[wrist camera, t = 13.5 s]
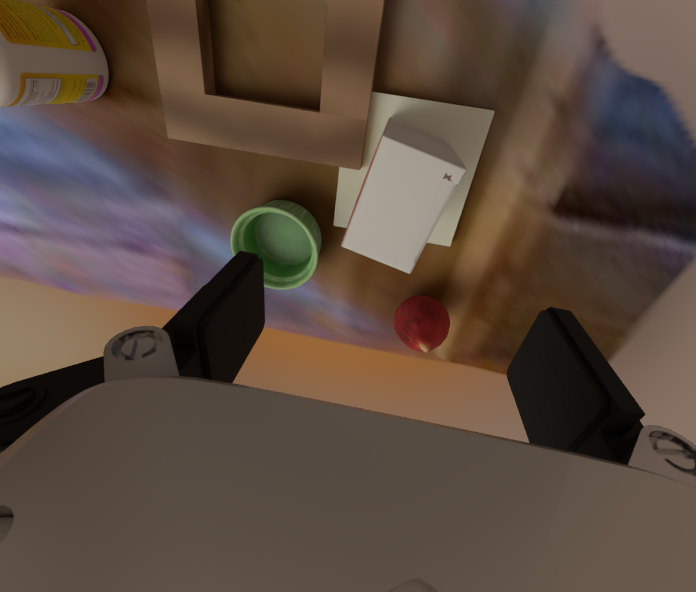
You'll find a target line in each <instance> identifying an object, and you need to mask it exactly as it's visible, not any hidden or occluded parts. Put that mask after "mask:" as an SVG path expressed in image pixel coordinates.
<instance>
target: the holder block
mask: <svg viewBox="0 0 696 592" xmlns="http://www.w3.org/2000/svg"><path fill="white" fill-rule="evenodd" d="M146 6H147V12H148V18H149V24H150V30H151V36H152V42H153V48H154V55H155V61H156V67H157V73H158V79H159V85H160V91H161V97H162V103H163V109H164V116H165V122H166V128H167V134H168V138H171V139H177V140H183V141H189V142H195V143H201V144H206V145H212V146H218V147H224V148H230V149H236V150H242V151H248V152H254V153H260V154H266V155H272V156H277V157H283V158H289V159H295V160H301V161H307V162H313V163H319V164H325V165H331V166H337V167H343V168H349V169H354V170H360V169H361V166H362V159H363V152H364V145H365V138H366V131H367V124H368V117H369V110H370V103H371V96H372V92H373V89H374V82H375V75H376V68H377V61H378V54H379V47H380V40H381V34H382V27H383V20H384V13H385V6H386V0H327V15H326V29H325V44H324V58H323V73H322V87H321V102H320V110H315V109H309V108H302V107H296V106H290V105H284V104H277V103H271V102H265V101H259V100H253V99H246V98H240V97H234V96H228V95H221V94H216V88H215V76H214V64H213V52H212V40H211V28H210V16H209V4H208V0H146Z"/></svg>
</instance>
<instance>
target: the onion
mask: <svg viewBox="0 0 696 592" xmlns="http://www.w3.org/2000/svg"><path fill="white" fill-rule="evenodd" d="M449 327H450V320H449V315H448V312H447V310H446V309H445V307H444V306H443V305H442V304H441V302H440V301H438V300H436V299H434V298H432V297H430V296H425V295H418V296H412V297H411V298H409V299H407V300H405V301H404V302H402V304H401V305H400V306H399V307H398V308H397V310H396V313H395V318H394V329H395V331H396V333H397V335H398V337H399V339H400V340H401V341H402V342H403V343H404V344H405V345H406V346H407V347H409V348H410V349H413V350H415V351H424V352H426V353H428V352H429V351H430V350H433V349H435V348H436V347H438V346H440V345H441V343H442V342H443V341H444V340H445V338H446V337H447V335H448V331H449Z"/></svg>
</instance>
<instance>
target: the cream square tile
mask: <svg viewBox="0 0 696 592" xmlns="http://www.w3.org/2000/svg"><path fill="white" fill-rule="evenodd" d="M494 112H495V111H494V110H489V109H482V108H476V107H469V106H463V105H456V104H450V103H444V102H437V101H431V100H424V99H418V98H411V97H405V96H399V95H392V94H386V93H379V92H372V96H371V103H370V110H369V117H368V124H367V131H366V138H365V145H364V152H363V159H362V166H361V169H360V170H354V169H349V168H343V167H340V168H339V177H338V186H337V196H336V205H335V214H334V224H333V226H338V227H343V228H347V226H348V223H349V220H350V217H351V214H352V211H353V209H354V206H355V203H356V200H357V197H358V195H359V192H360V189H361V186H362V184H363V181H364V179H365V176H366V174H367V171H368V169H369V166H370V163H371V161H372V158H373V156H374V153H375V151H376V148H377V146H378V143H379V141H380V138H381V136H382V134H383V131H384V129H385V126H386V124H387V122H388V119H389V117H393V118H395V119H397V120H400V121H402V122H404V123H407V124H409V125H411V126H414V127H416V128H418V129H421V130H423V131H425V132H428V133H430V134H432V135H435V136H437V137H439V138H441V139H444V140H446V141H448V142H449V143H450V144H451V146H452V147H453V149H454V151H455V152H456V153H457V155H458V156H459V158H460V159H461V160H462V162H463V163H464V165H465V167H466V168H467V172H466V174H465V176H464V177H463V179H462V181H461V182H460V184H459V185H458V187H457V189H456V190H455V192H454V194H453V196H452V197H451V199H450V201H449V202H448V204H447V206H446V208H445V210H444V212H443V213H442V215H441V217H440V219H439V221H438V222H437V224H436V226H435V228H434V230H433V232H432V234H431V235H430V237H429V239H428V241H427V243H433V244H439V245H444V246H451V242H452V239H453V236H454V233H455V230H456V227H457V224H458V221H459V218H460V215H461V212H462V209H463V206H464V203H465V200H466V197H467V194H468V191H469V188H470V185H471V182H472V179H473V176H474V173H475V170H476V167H477V164H478V161H479V158H480V155H481V152H482V149H483V146H484V143H485V140H486V137H487V134H488V131H489V128H490V125H491V122H492V119H493V115H494Z"/></svg>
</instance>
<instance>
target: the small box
mask: <svg viewBox="0 0 696 592" xmlns="http://www.w3.org/2000/svg"><path fill="white" fill-rule="evenodd" d="M466 172H467V168H466V167H465V165H464V163H463V162H462V160H461V159H460V158H459V156H458V155H457V153H456V152H455V151H454V149H453V147H452V146H451V144H450V143H449V142H448V141H446V140H444V139H441V138H439V137H437V136H435V135H432V134H430V133H428V132H425V131H423V130H421V129H418V128H416V127H414V126H411V125H409V124H407V123H404V122H402V121H400V120H397V119H395V118H393V117H389V119H388V122H387V124H386V126H385V129H384V131H383V134H382V136H381V138H380V141H379V143H378V146H377V148H376V151H375V153H374V156H373V158H372V161H371V163H370V166H369V169H368V171H367V174H366V176H365V179H364V181H363V184H362V186H361V189H360V192H359V195H358V197H357V200H356V203H355V206H354V209H353V211H352V214H351V217H350V220H349V223H348V226H347V229H346V232H345V235H344V237H343V240H342V243H341V246H342V247H344V248H347V249H349V250H352V251H354V252H357V253H359V254H362V255H364V256H366V257H369V258H371V259H374V260H376V261H379V262H381V263H384V264H386V265H389V266H391V267H394V268H396V269H399V270H401V271H404V272H406V273H409V274H410V273H411V272H412V271H413V268H414V266H415V264H416V262H417V260H418V258H419V256H420V254H421V252H422V250H423V248H424V246H425V245H426V243H427V241H428V239H429V237H430V235H431V234H432V232H433V230H434V228H435V226H436V224H437V222H438V221H439V219H440V217H441V215H442V213H443V212H444V210H445V208H446V206H447V204H448V202H449V201H450V199H451V197H452V196H453V194H454V192H455V190H456V189H457V187H458V185H459V184H460V182H461V181H462V179H463V177H464V176H465V174H466Z"/></svg>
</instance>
